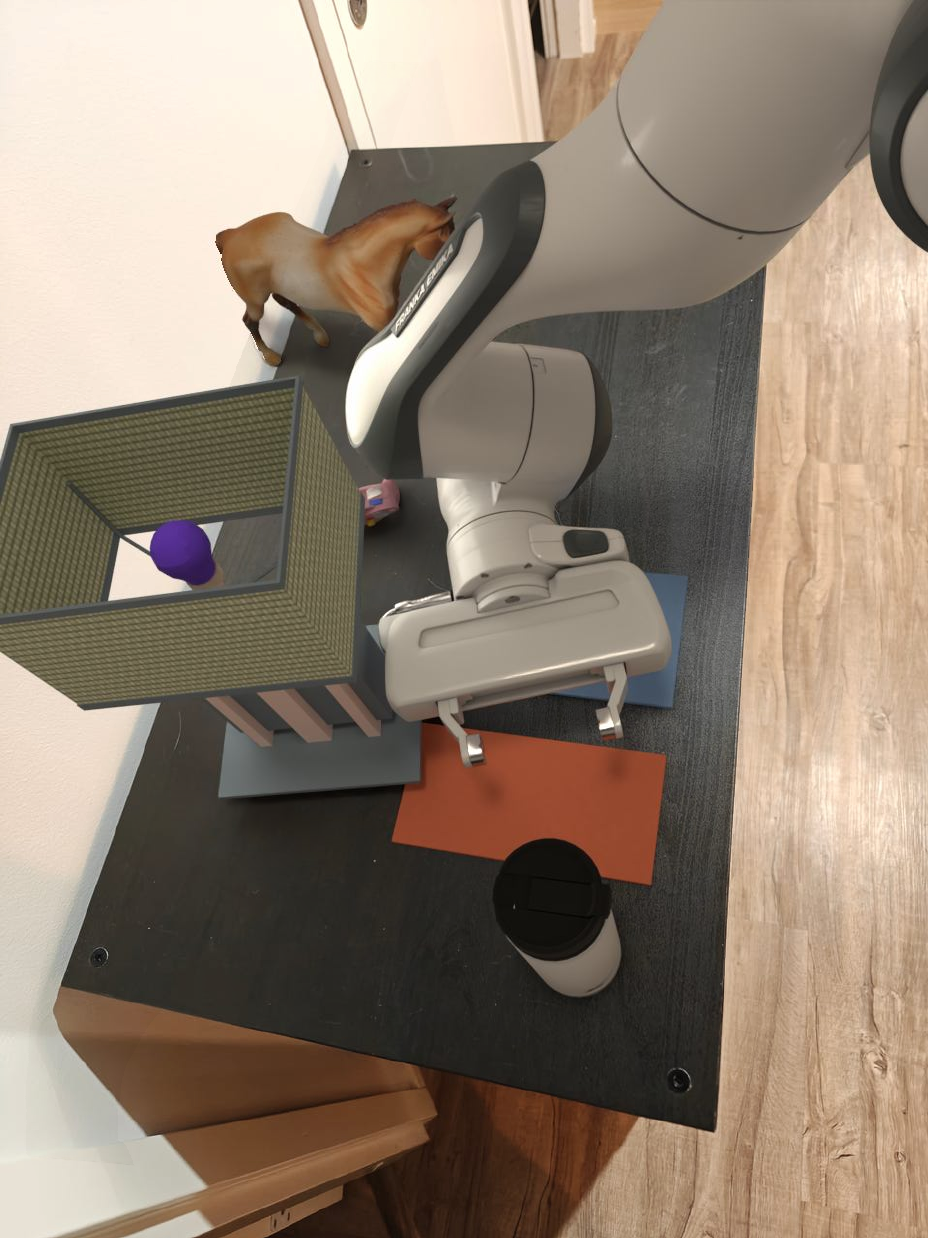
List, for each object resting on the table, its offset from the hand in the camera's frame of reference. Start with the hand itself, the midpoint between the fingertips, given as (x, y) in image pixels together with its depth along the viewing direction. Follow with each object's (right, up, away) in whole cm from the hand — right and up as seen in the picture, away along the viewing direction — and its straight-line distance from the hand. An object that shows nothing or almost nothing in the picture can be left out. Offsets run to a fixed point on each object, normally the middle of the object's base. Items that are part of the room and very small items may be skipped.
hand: (543, 750), depth 64 cm
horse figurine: (-16, +38, +36) cm, 55 cm away
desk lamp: (-16, 0, +16) cm, 23 cm away
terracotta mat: (0, -5, +10) cm, 11 cm away
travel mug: (+3, -15, +4) cm, 16 cm away
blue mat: (+3, +8, +16) cm, 18 cm away
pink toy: (-16, +18, +26) cm, 35 cm away
